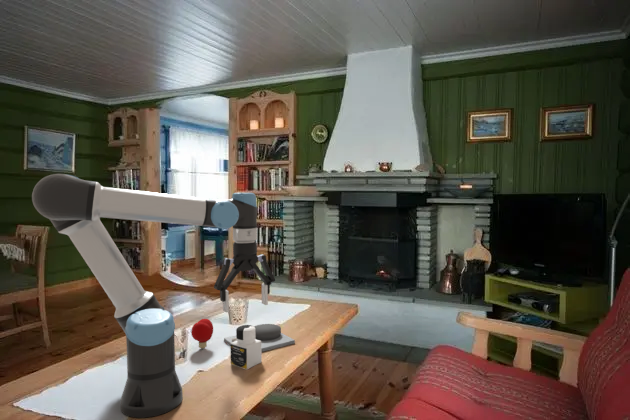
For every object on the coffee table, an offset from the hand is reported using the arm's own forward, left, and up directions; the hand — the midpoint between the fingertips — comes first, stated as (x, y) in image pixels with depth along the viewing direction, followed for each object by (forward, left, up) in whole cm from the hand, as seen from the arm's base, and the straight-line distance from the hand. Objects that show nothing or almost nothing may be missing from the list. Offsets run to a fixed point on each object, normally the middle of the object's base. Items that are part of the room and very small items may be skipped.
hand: (245, 307), depth 133 cm
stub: (+16, +16, -17) cm, 28 cm away
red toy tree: (-7, +20, -18) cm, 28 cm away
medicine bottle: (0, 0, -18) cm, 18 cm away
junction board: (+12, +14, -18) cm, 26 cm away
